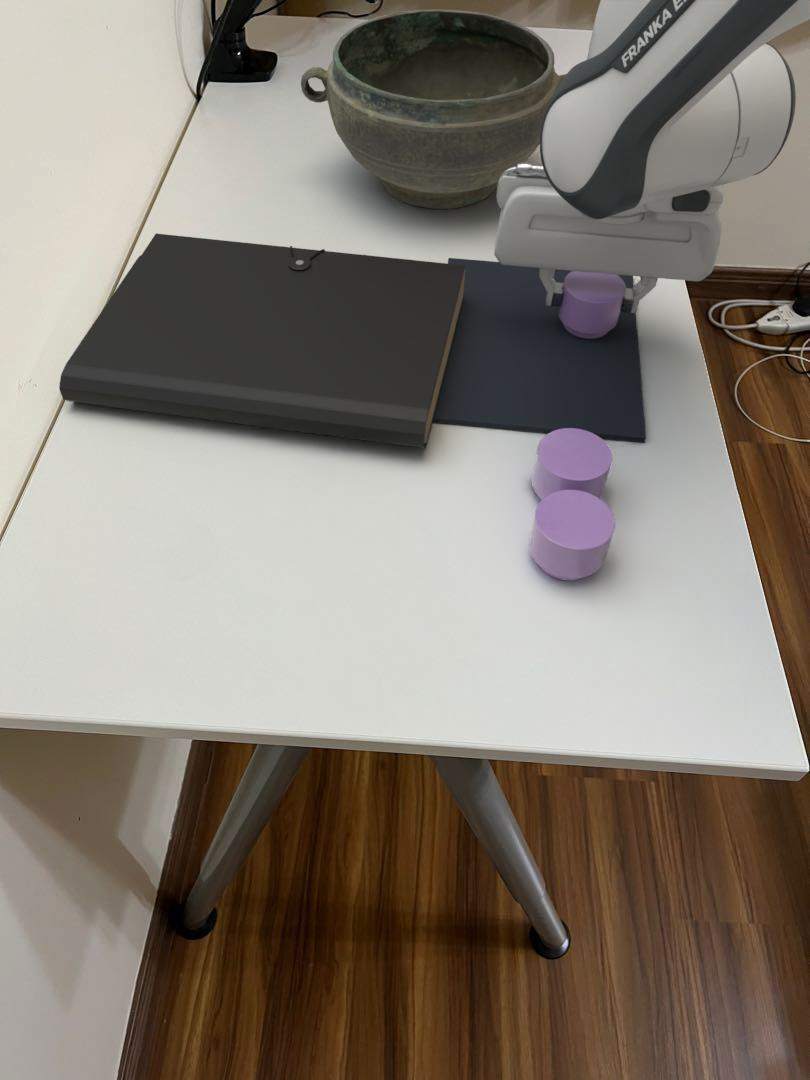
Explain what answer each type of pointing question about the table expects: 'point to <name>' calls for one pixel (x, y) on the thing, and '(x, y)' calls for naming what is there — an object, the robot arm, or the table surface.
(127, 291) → the file folder
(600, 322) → the lavender round puck
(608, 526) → the lilac cylinder puck
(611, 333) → the mat
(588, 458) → the purple short cylinder
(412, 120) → the bowl
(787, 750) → the table surface
